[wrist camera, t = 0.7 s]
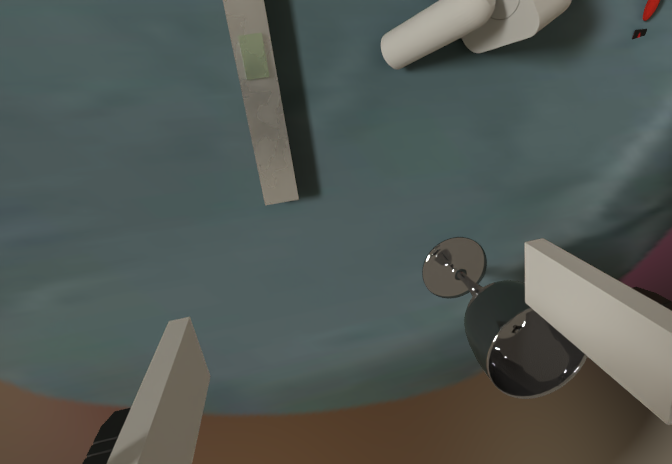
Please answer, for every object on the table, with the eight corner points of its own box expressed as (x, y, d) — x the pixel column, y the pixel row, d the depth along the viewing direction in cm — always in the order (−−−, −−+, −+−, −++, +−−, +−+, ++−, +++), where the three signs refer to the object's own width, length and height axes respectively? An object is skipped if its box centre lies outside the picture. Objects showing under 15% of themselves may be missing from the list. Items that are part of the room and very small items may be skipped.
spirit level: (201, -114, 30) (195, -133, 28) (242, -118, 31) (239, -137, 28) (265, 198, 39) (265, 206, 36) (297, 192, 39) (299, 200, 36)
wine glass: (503, 250, 44) (611, 328, 30) (464, 311, 46) (548, 410, 32) (443, 221, 42) (530, 290, 28) (405, 286, 44) (467, 380, 30)
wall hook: (353, 16, 34) (417, -32, 25) (445, -48, 35) (537, -116, 26) (400, 103, 37) (473, 88, 27) (483, 40, 38) (578, 6, 29)
